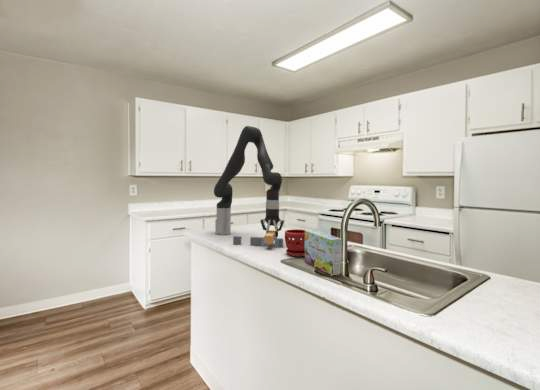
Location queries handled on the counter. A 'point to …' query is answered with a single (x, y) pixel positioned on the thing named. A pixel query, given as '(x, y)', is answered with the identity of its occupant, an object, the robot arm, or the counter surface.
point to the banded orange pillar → (269, 237)
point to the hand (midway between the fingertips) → (272, 237)
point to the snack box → (323, 251)
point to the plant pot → (295, 242)
